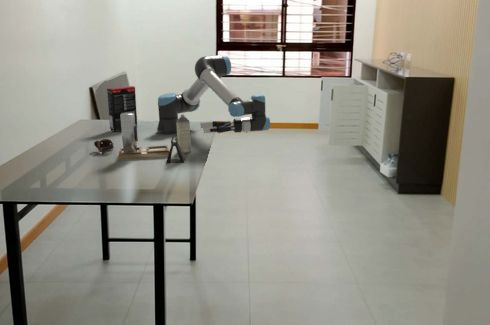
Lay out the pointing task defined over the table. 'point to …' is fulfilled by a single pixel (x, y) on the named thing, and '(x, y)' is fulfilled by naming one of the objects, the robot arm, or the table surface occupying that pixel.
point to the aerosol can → (183, 134)
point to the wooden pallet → (145, 153)
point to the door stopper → (177, 151)
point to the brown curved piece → (104, 145)
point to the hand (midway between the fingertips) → (201, 127)
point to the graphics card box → (121, 105)
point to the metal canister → (129, 132)
